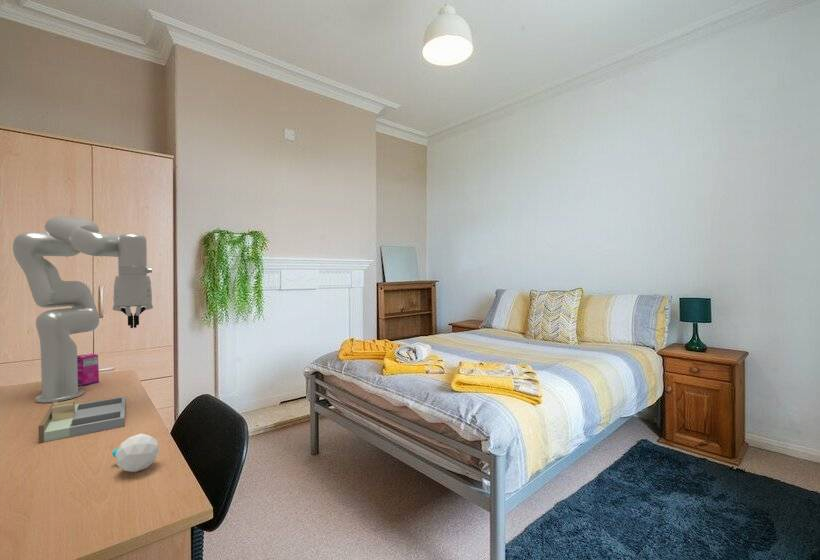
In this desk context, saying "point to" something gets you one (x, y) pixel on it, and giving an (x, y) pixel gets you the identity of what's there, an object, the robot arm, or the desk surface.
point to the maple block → (63, 410)
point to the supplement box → (87, 369)
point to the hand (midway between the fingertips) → (133, 327)
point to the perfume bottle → (136, 453)
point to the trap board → (84, 419)
